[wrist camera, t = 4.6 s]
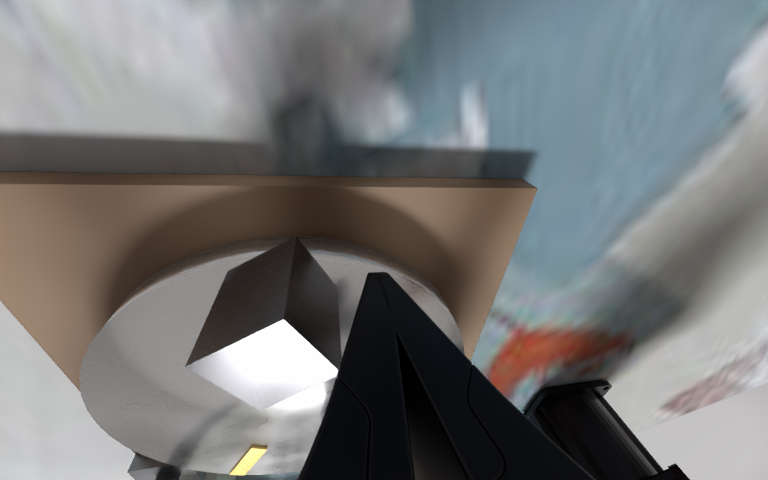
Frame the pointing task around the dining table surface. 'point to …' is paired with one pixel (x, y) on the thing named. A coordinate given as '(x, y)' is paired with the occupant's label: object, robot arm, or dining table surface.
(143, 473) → the dial gauge
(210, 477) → the valve
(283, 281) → the turntable
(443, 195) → the base board
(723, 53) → the dining table surface
